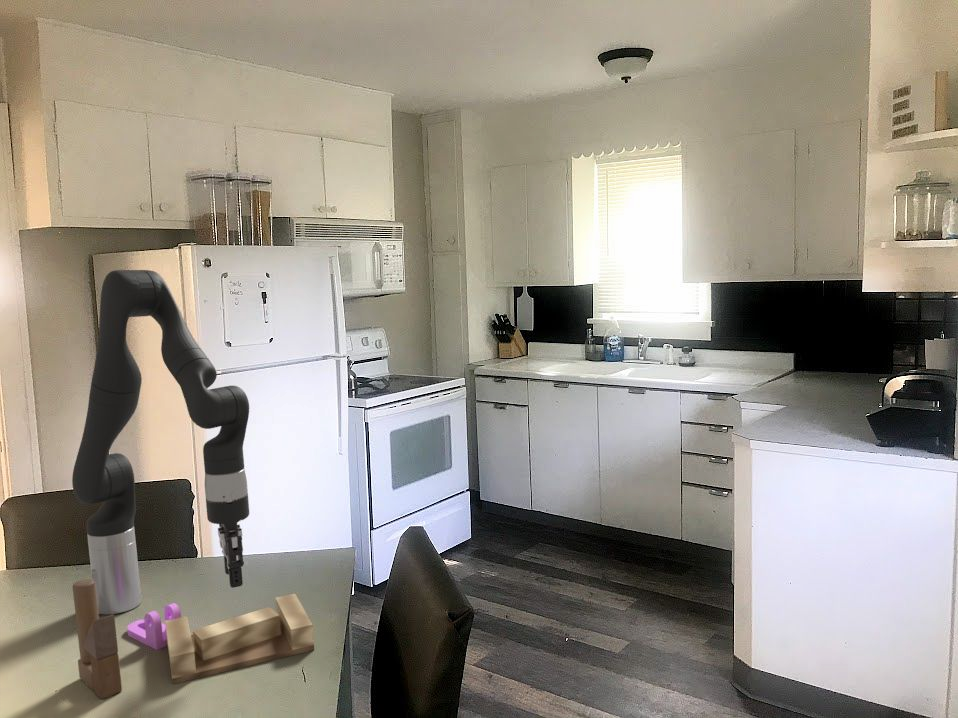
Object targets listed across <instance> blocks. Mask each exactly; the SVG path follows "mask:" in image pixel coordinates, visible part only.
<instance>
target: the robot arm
mask: <svg viewBox="0 0 958 718" xmlns="http://www.w3.org/2000/svg"><path fill="white" fill-rule="evenodd" d="M99 300H100V301H99V303H100V304H99V324H98V337H97V338H98V339H97V347H96V352H95V353H96V354H95V361H94V367H93V372H92V377H91V382H90V389H89V397H88V406H87V412H86V417H85V418H86V419H85V423H84V427H83V428H84V429H83V433H82V436H81V441H80V445H79V448H78V451H77V455H76V458H75V463H74V466H73V470H72V478H71V479H72V480H71V483H72V490H73V494H74V496H75V498H76V499H77V500H78V502H79V503H82V504H84V505H93V504H94V505H95V504H98V503H101V502H102V505H101V506H100V507H99V508H98V509H97V511H95V513H94V514H92V515H91V516H90V517H89V518H88V519H87V520H86V524H85V526H86V534H87V536H86V537H87V544H88V554H89V562H90V579H92V580H94V581H95V586H96V596H97V605H98V614H99V615H112V614H114V615H115V614H116V615H117V614H120V613H124V612H128V611H130V610H133V609H135V608H137V607H138V606H139V605H141V603H142V599H143V598H142V590H141V581H140V571H139V561H138V560H139V559H138V552H137V551H138V550H137V542H136V534H135V533H136V532H135V531H136V530H135V516H136V509H137V507H136V485H135V474H134V469H133V466H132V463H131V462H130V460H129V459H128V457H127V456H126V455H124V454H122V453H118V452H117V453H115V452H114V453H110V449H112V445H113V444H114V442H115V440H116V439H117V438H118V436H119V435H120V434H121V432H122V431H123V430H124V428H125V427H126V426H127V424H128V423H129V421H130V420H131V418H132V417H133V416H134V413H136V410H137V408H138V404H139V399H140V394H141V387H142V383H143V382H142V379H143V378H142V374H141V370H140V367H139V365H138V363H137V362H136V360H135V358H134V356H133V354H132V353H131V350H130V348H129V346H128V343H127V328H128V327H127V326H128V321H129V318H135V317H136V318H137V317H138V318H141V317H152V318H153V320H155V322H156V323H157V324H158V325H159V327H160V328H161V333H162V334H161V347H160V348H161V349H160V351H161V357H162V360H163V362H164V365H165V366H166V368H167V370H168V371H169V373H170V374H171V375H172V377H173V378H174V380H175V381H176V382H177V384H178V385H179V387H180V389H181V392H182V395H183V397H184V401H185V404H186V409H187V412H188V416H189V418H190V420H191V421H192V422H193V423H194V424H195V425H196V426H198V427H199V428H201V429H204V430H205V429H206V430H207V429H208V430H209V429H210V430H211V429H215V428H218V427H220V429H219V432H218V434H217V435H216V436H215V437H212V438H210V439H209V440H208V441H206V442H205V443H204V445H203V446H202V447H203V448H202V449H203V450H202V455H203V466H204V494H205V508H206V516H207V521H208V522H209V523H210V524H215V525H218V526H219V527H217V535H218V537H219V546H220V548H221V549H222V550H221V553H222V555H223V562H224V572H225V574H226V575H228V580H229V586H230V588H237V587H242V586H243V584H244V583H243V573H242V568H243V567H244V565H245V564H244V563H245V561H244V558H243V557H244V556H243V555H244V554H243V551H244V546H243V530H242V529H243V528H241V525H240V524H239V522H241V521H244V520H246V519H247V518H248V517H249V516H250V505H249V493H248V480H247V474H246V470H245V460H244V449H243V448H244V447H243V446H244V441H245V438H246V431H247V427H248V422H249V415H250V402H249V398H248V395H247V394H246V392H245V391H244V389H242V388H241V387H239V386H237V385H227V386H226V385H225V386H221V387H216V388H210V387H211V386H213V384H214V383H215V382H216V379H217V376H218V375H217V374H218V373H217V372H218V371H217V370H216V368H215V366H214V364H213V363H212V361H211V360H210V359H209V357H208V356H207V354H206V353H205V352H204V351H203V349H202V348H201V346H200V345H199V344H198V342H197V341H196V340H195V338H194V337H193V334H192V333H191V331H190V329H189V327H188V325H187V323H186V321H185V319H184V317H183V315H182V312H181V310H180V308H179V306H178V304H177V302H176V300H175V298H174V296H173V294H172V292H171V290H170V288H169V286H168V284H167V283H166V281H165V279H164V278H163V277H162V276H161V275H160V274H159V273H158V272H156V271H154V270H149V269H118V270H117V269H116V270H112V271H110V272H109V273H107V275H105V278H104V280H103V282H102V286H101V292H100V299H99ZM209 388H210V389H209ZM109 453H110V454H109Z"/></svg>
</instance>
